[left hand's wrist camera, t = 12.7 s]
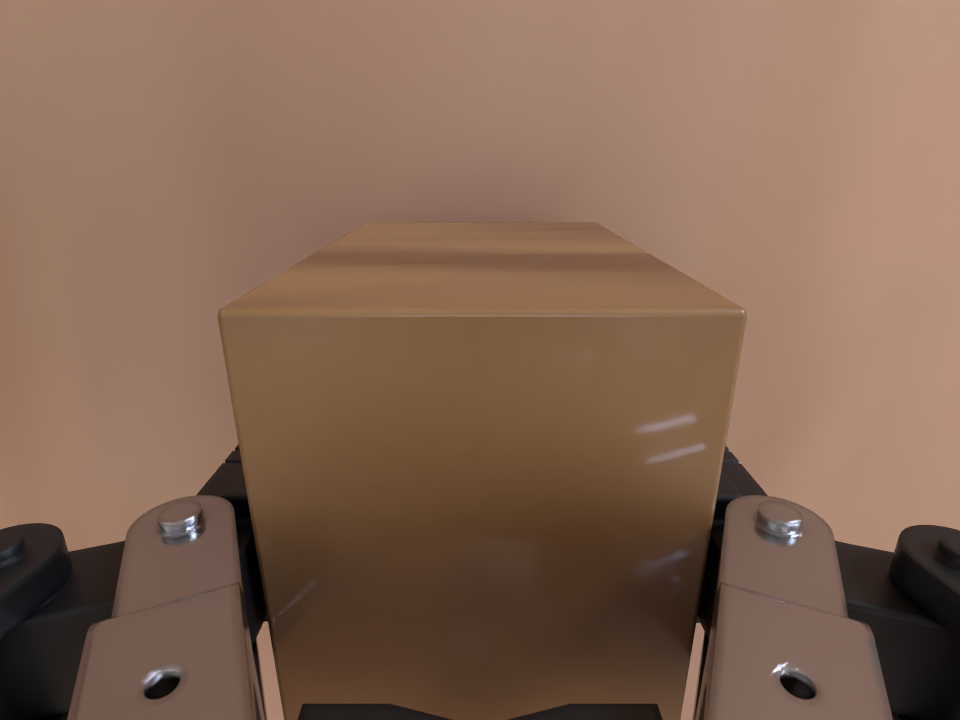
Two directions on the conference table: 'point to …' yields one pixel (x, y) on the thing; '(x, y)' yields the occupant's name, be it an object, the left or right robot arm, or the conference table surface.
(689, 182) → the conference table surface
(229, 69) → the conference table surface
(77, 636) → the left robot arm
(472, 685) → the bar
